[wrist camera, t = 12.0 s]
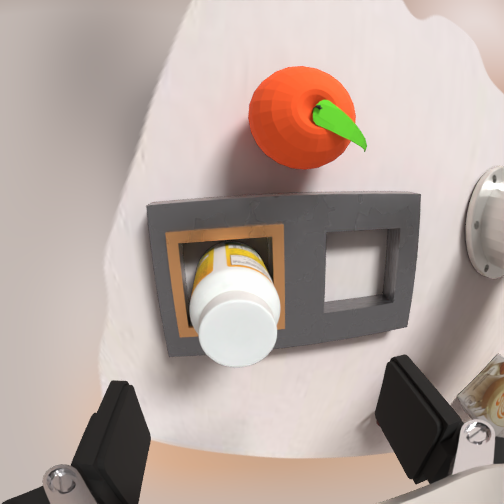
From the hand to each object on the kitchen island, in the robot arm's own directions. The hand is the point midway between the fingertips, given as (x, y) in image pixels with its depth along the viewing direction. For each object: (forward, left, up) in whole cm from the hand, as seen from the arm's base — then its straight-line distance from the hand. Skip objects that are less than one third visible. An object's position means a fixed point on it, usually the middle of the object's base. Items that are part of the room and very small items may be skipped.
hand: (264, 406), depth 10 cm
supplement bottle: (0, 0, -15) cm, 15 cm away
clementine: (-5, -11, -15) cm, 19 cm away
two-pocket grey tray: (-5, 0, -15) cm, 16 cm away
